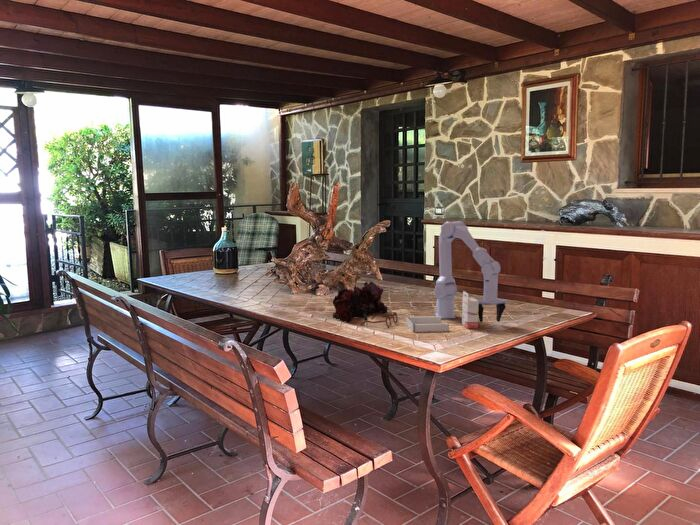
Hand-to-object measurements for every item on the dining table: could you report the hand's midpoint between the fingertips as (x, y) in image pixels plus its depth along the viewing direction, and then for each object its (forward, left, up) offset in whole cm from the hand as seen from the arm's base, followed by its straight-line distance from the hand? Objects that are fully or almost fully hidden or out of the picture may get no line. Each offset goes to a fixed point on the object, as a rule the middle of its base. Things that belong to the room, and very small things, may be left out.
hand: (489, 321), depth 232 cm
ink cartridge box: (0, -8, -2) cm, 9 cm away
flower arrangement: (-27, -53, -2) cm, 60 cm away
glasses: (-9, -46, -3) cm, 47 cm away
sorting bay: (0, -26, -2) cm, 27 cm away
